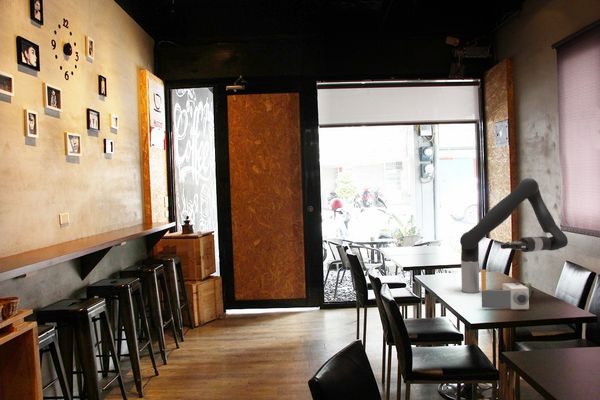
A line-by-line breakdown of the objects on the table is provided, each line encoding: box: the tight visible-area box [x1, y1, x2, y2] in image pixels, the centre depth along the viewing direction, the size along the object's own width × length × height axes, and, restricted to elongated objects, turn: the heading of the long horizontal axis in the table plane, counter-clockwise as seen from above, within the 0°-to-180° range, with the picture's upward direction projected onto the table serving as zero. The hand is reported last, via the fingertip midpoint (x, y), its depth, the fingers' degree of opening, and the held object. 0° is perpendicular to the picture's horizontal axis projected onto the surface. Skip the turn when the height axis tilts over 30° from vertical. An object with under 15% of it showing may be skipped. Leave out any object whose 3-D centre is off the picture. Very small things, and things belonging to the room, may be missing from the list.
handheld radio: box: [523, 282, 535, 298], centre depth 261 cm, size 7×3×25 cm
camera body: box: [502, 281, 530, 310], centre depth 244 cm, size 14×8×11 cm, turn 177°
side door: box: [480, 269, 511, 309], centre depth 240 cm, size 13×1×18 cm, turn 78°
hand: (501, 246), depth 248 cm, fingers closed
